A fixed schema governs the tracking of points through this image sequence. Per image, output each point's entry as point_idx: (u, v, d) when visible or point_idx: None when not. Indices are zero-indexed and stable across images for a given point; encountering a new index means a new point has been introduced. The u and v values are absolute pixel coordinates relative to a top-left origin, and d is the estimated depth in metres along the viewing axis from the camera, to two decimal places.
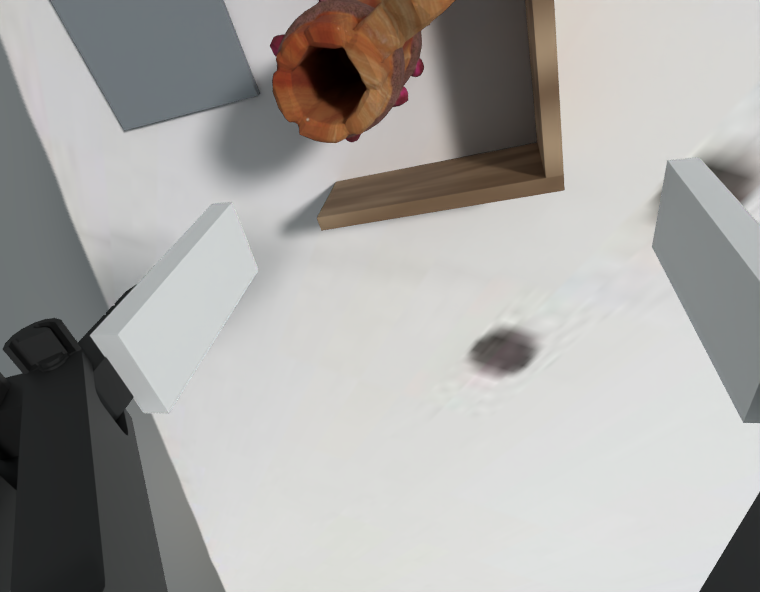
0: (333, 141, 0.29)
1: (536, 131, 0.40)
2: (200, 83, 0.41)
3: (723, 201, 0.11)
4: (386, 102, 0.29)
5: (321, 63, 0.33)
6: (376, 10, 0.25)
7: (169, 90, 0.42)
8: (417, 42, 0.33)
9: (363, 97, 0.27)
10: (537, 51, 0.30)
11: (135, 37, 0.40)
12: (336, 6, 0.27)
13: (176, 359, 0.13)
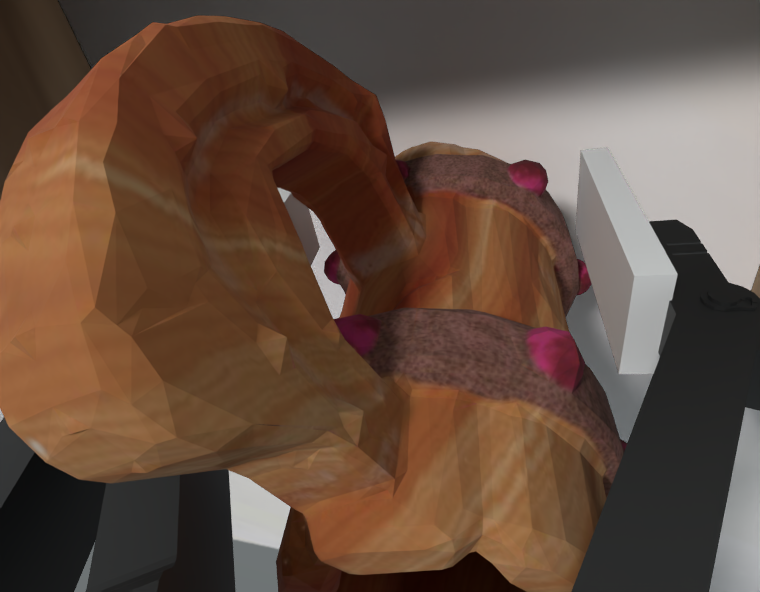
0: None
1: None
2: None
3: (615, 184, 0.12)
4: (554, 422, 0.09)
5: None
6: None
7: None
8: (464, 180, 0.14)
9: None
10: None
11: None
12: None
13: None
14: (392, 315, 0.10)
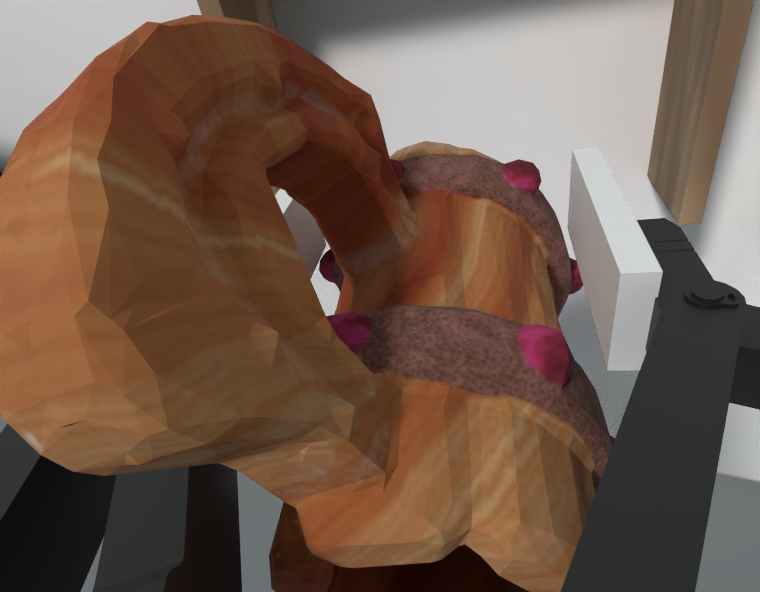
0: None
1: None
2: None
3: (605, 183, 0.13)
4: (544, 417, 0.09)
5: None
6: None
7: None
8: (458, 179, 0.14)
9: None
10: None
11: None
12: None
13: None
14: (385, 312, 0.10)
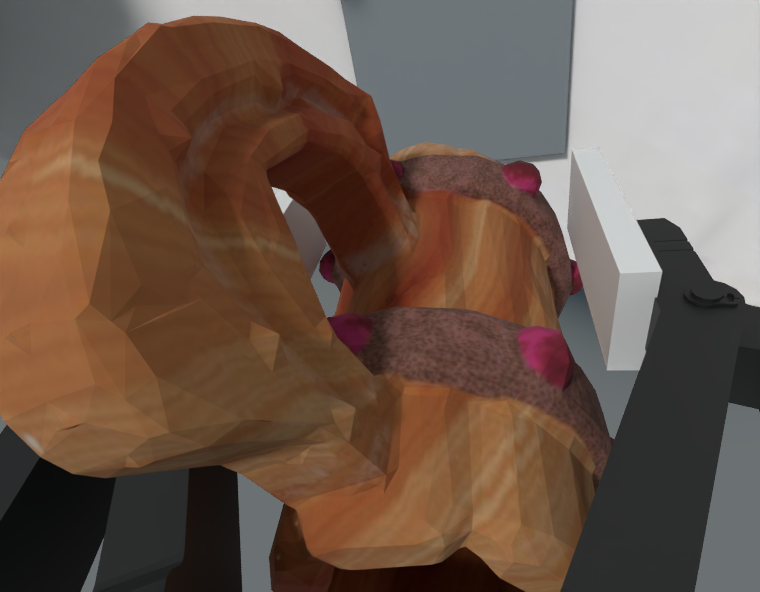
0: None
1: None
2: (536, 6, 0.30)
3: (605, 183, 0.13)
4: (545, 419, 0.09)
5: None
6: None
7: (534, 60, 0.31)
8: (458, 180, 0.14)
9: None
10: None
11: (465, 82, 0.33)
12: None
13: None
14: (385, 314, 0.10)
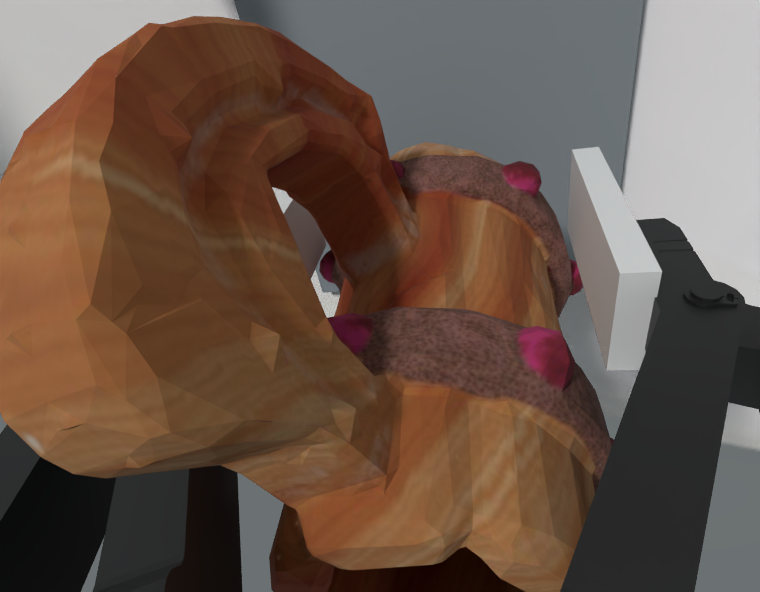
0: None
1: None
2: (573, 67, 0.18)
3: (605, 183, 0.13)
4: (545, 420, 0.09)
5: None
6: None
7: (566, 150, 0.19)
8: (459, 180, 0.14)
9: None
10: None
11: None
12: None
13: None
14: (385, 314, 0.10)
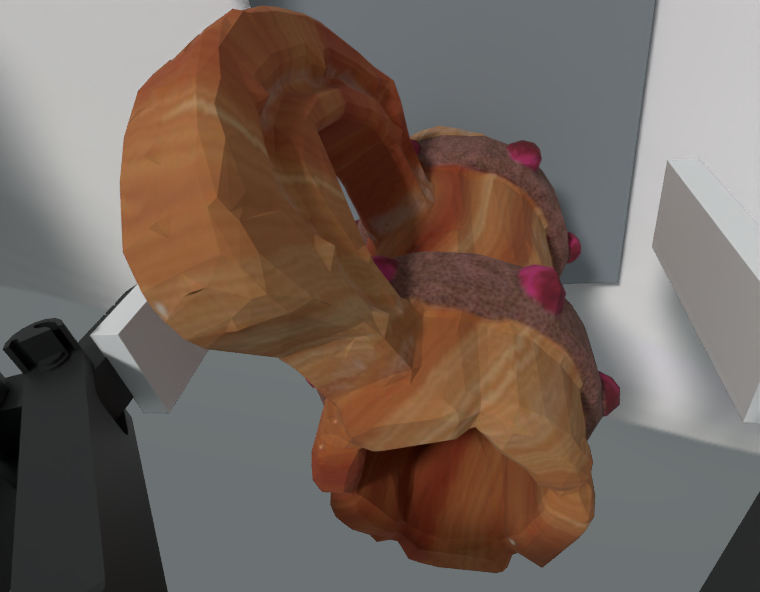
0: (586, 525, 0.10)
1: None
2: (584, 71, 0.18)
3: (723, 201, 0.11)
4: (540, 339, 0.11)
5: None
6: None
7: (576, 153, 0.20)
8: (469, 156, 0.16)
9: (491, 442, 0.10)
10: None
11: None
12: None
13: (176, 359, 0.13)
14: (408, 256, 0.12)
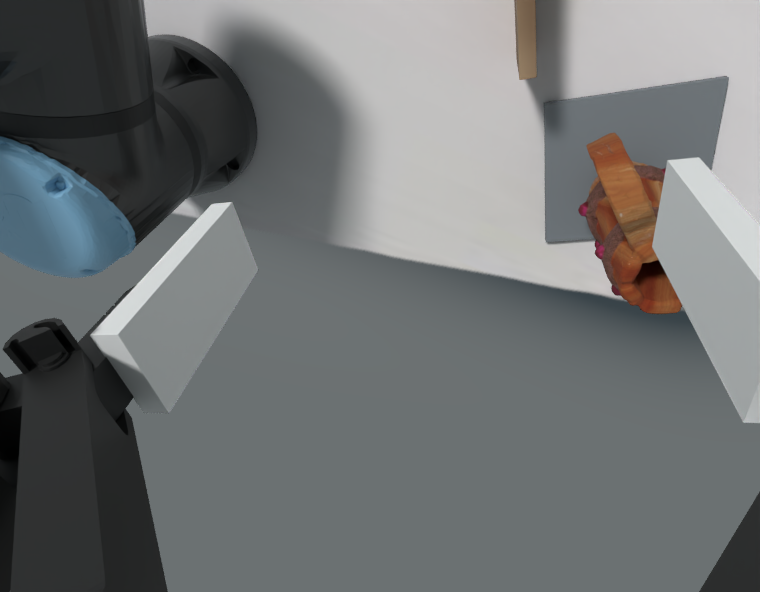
0: None
1: None
2: (690, 137, 0.42)
3: (723, 201, 0.11)
4: None
5: None
6: (627, 236, 0.34)
7: None
8: (648, 174, 0.41)
9: None
10: None
11: None
12: (610, 251, 0.38)
13: (176, 359, 0.13)
14: None
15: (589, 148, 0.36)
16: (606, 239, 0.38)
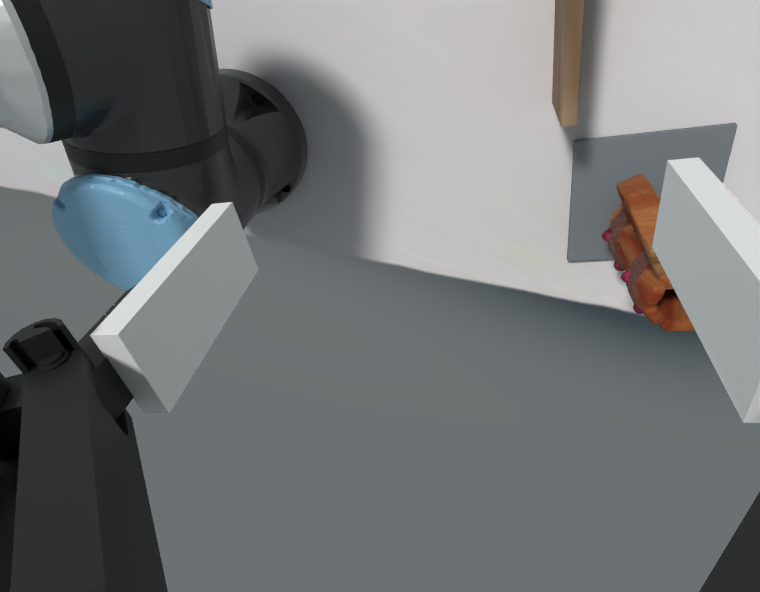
0: None
1: None
2: None
3: (723, 201, 0.11)
4: None
5: None
6: (654, 267, 0.40)
7: None
8: None
9: None
10: None
11: None
12: (636, 277, 0.43)
13: (176, 359, 0.13)
14: None
15: (621, 188, 0.41)
16: (632, 266, 0.44)
